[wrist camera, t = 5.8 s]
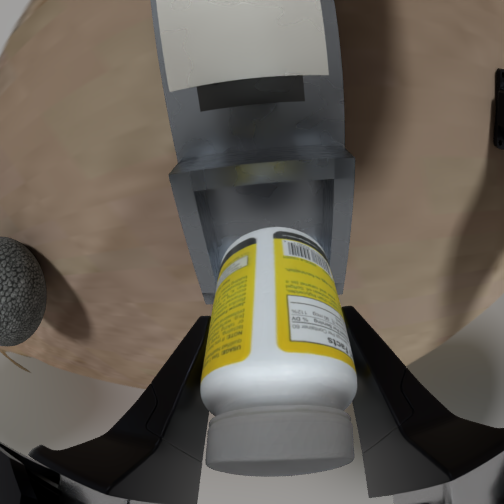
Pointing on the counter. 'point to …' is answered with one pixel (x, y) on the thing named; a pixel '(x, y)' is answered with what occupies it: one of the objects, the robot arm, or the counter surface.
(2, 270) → the decorative ball
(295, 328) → the supplement bottle
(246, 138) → the rail
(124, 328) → the counter surface
